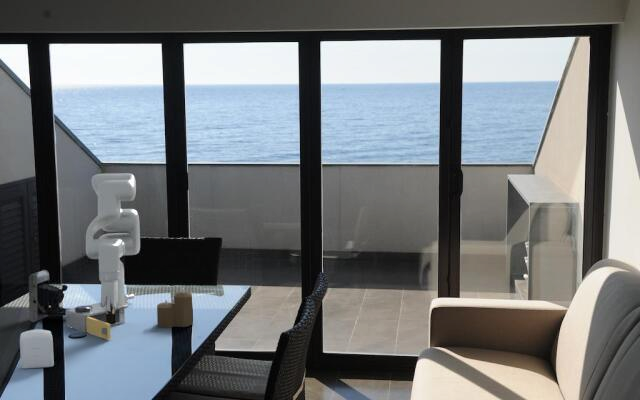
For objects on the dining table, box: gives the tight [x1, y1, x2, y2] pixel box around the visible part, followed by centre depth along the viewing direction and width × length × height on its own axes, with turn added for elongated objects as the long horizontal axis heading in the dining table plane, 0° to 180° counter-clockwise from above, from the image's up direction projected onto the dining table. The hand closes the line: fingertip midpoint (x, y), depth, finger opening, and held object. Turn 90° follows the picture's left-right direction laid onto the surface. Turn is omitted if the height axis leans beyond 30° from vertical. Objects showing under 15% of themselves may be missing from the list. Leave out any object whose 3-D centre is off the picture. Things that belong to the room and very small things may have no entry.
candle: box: [156, 286, 194, 329], centre depth 311 cm, size 14×14×15 cm
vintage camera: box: [28, 269, 69, 323], centre depth 317 cm, size 10×15×20 cm, turn 78°
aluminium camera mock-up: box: [65, 301, 126, 333], centre depth 311 cm, size 18×13×8 cm
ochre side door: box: [84, 315, 111, 341], centre depth 294 cm, size 16×2×7 cm, turn 46°
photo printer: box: [19, 329, 55, 370], centre depth 259 cm, size 10×4×12 cm, turn 100°
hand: (111, 323), depth 297 cm, fingers closed
